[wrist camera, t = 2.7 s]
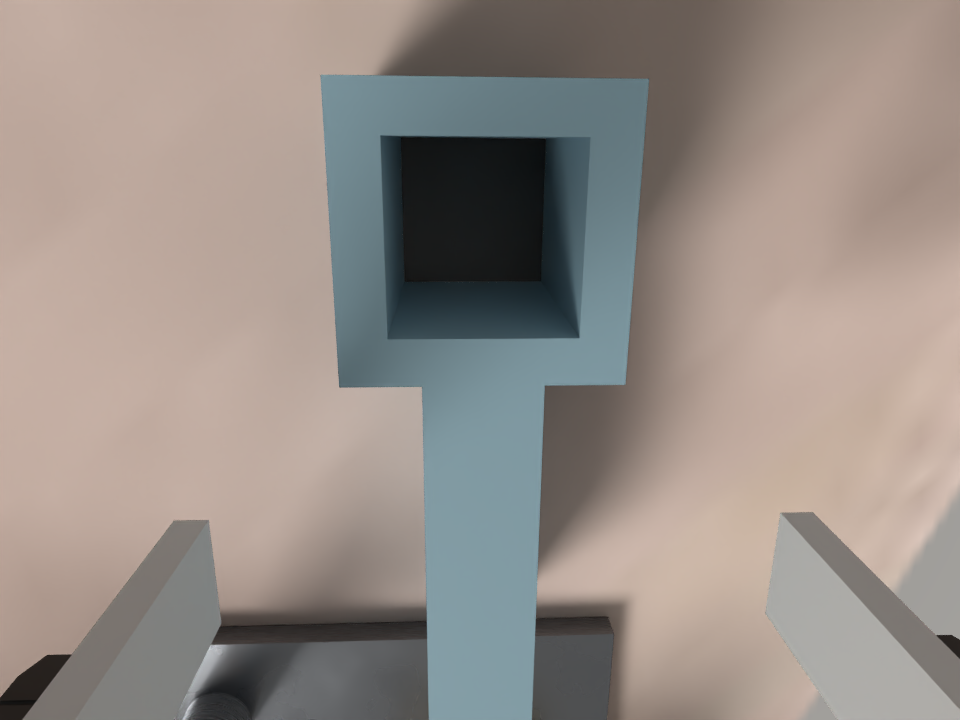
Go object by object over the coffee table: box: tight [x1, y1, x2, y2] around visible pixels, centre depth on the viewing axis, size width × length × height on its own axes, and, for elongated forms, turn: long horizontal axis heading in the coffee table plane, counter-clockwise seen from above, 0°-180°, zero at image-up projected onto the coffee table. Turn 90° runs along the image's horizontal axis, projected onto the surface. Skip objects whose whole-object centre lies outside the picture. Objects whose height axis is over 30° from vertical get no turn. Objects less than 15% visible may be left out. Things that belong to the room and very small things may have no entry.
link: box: [321, 75, 649, 720], centre depth 21 cm, size 18×7×7 cm, turn 0°
